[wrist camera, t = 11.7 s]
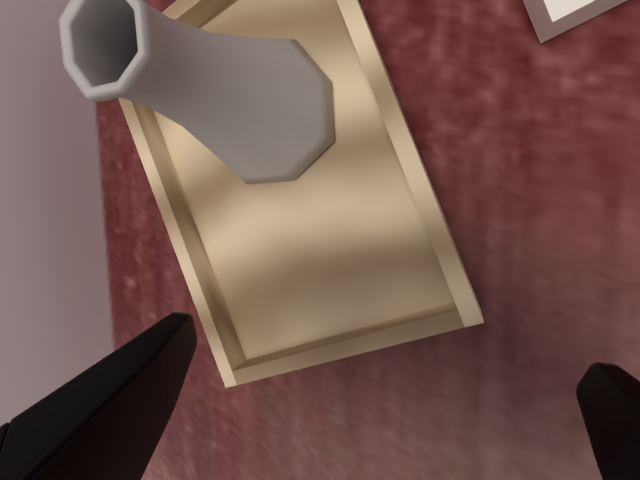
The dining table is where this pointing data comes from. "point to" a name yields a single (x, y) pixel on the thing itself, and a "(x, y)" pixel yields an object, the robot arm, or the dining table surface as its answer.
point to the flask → (205, 84)
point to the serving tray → (308, 213)
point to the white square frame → (563, 14)
